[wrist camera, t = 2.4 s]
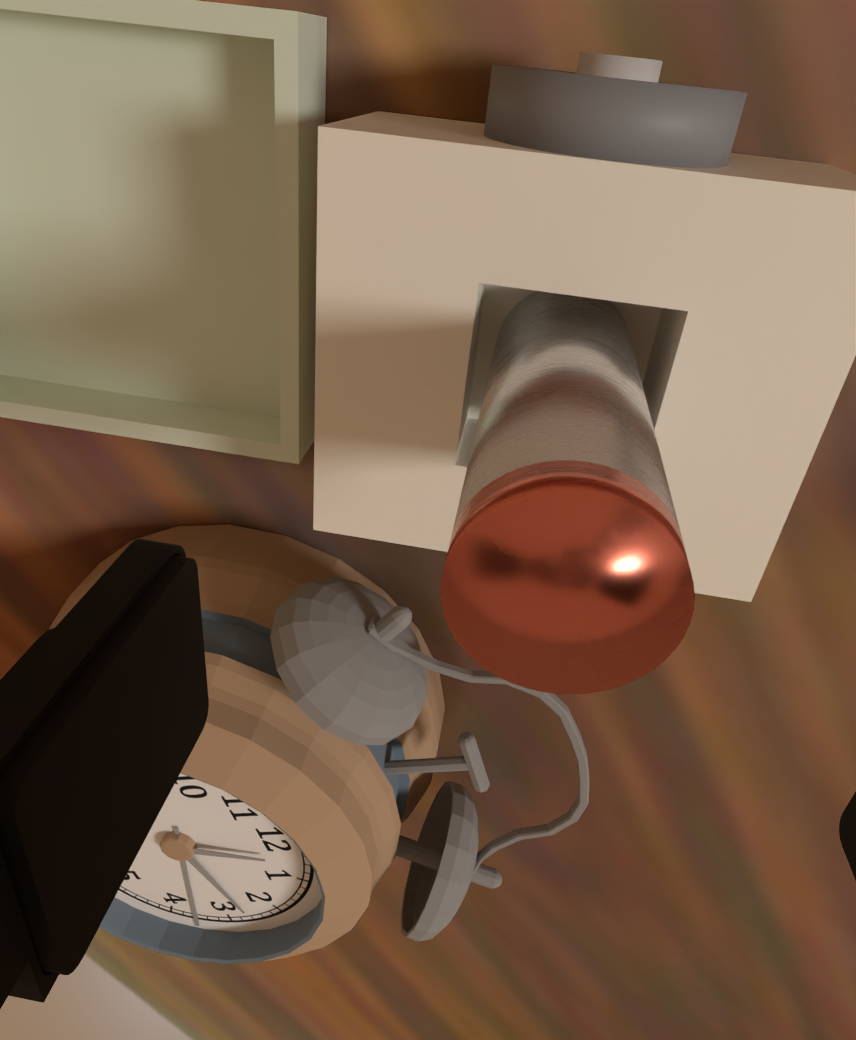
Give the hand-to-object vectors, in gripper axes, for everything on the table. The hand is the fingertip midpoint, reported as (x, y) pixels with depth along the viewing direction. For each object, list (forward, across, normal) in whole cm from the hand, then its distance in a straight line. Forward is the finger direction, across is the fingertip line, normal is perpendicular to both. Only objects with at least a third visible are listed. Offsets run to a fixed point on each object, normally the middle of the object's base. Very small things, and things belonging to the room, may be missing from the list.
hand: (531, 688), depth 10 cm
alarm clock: (+16, +7, +16) cm, 24 cm away
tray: (+16, +13, -2) cm, 20 cm away
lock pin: (+12, 0, -1) cm, 12 cm away
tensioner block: (+15, -1, -1) cm, 15 cm away
